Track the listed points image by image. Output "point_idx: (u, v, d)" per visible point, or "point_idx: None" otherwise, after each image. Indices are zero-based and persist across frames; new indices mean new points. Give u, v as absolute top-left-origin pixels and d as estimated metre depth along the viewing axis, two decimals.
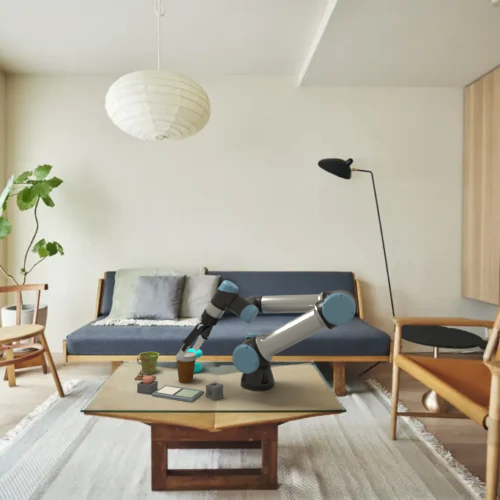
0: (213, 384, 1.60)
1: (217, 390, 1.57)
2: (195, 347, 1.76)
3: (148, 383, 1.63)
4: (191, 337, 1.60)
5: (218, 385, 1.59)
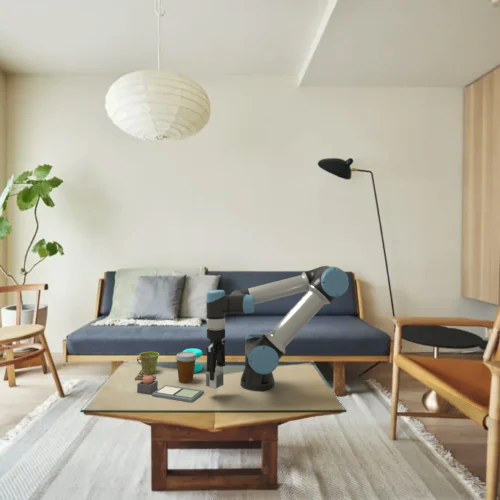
0: None
1: (217, 378, 1.58)
2: None
3: (148, 383, 1.63)
4: (210, 363, 1.53)
5: (218, 373, 1.59)
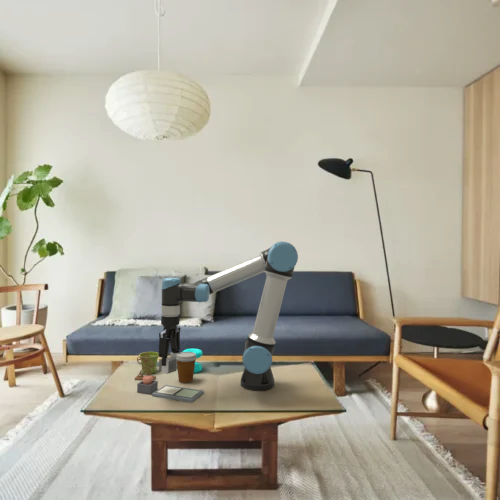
0: None
1: (170, 364, 1.61)
2: None
3: (148, 383, 1.63)
4: (162, 348, 1.56)
5: (171, 359, 1.63)
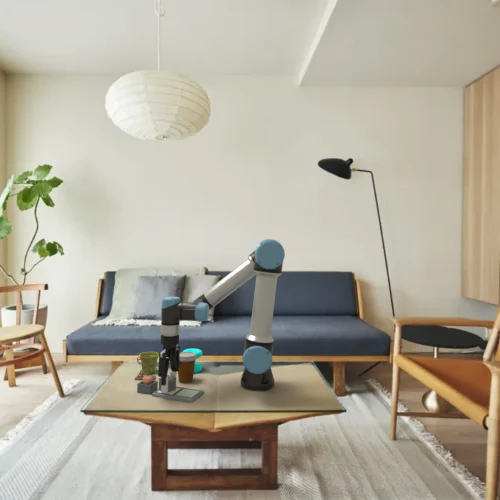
0: None
1: (170, 383, 1.61)
2: None
3: (148, 383, 1.63)
4: (161, 368, 1.56)
5: (171, 378, 1.63)
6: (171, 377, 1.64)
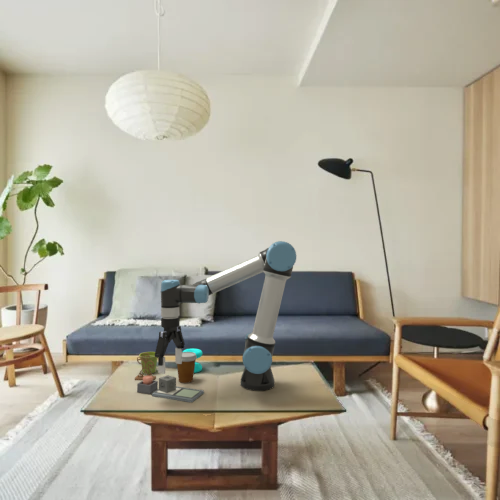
0: (166, 377, 1.64)
1: (170, 383, 1.61)
2: (177, 360, 1.69)
3: (148, 383, 1.63)
4: (160, 347, 1.54)
5: (171, 378, 1.63)
6: (171, 377, 1.64)
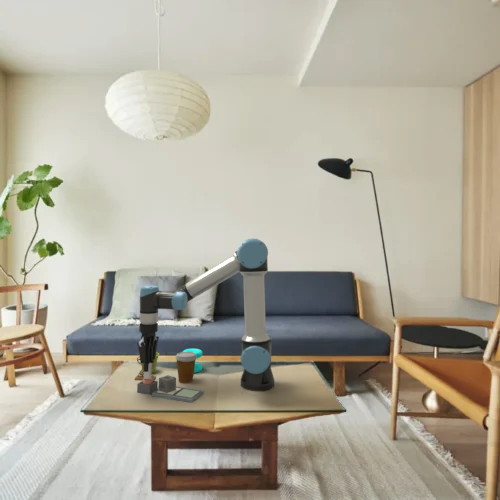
0: (166, 377, 1.64)
1: (170, 383, 1.61)
2: None
3: None
4: (142, 356, 1.61)
5: (171, 378, 1.63)
6: (171, 377, 1.64)
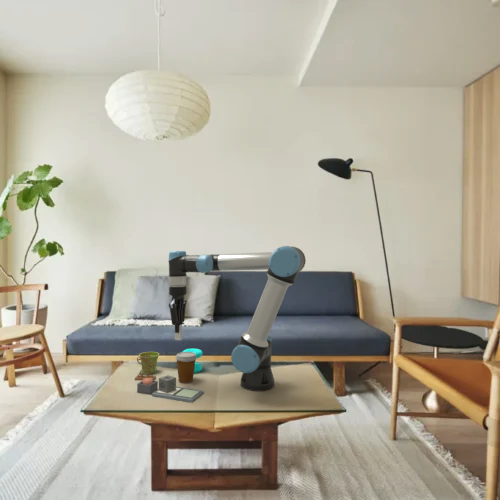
0: (166, 377, 1.64)
1: (170, 383, 1.61)
2: None
3: None
4: (174, 317, 1.68)
5: (171, 378, 1.63)
6: (171, 377, 1.64)
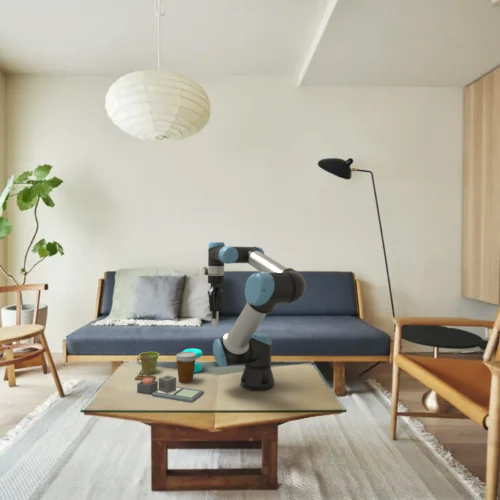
0: (166, 377, 1.64)
1: (170, 383, 1.61)
2: None
3: None
4: (212, 303, 1.79)
5: (171, 378, 1.63)
6: (171, 377, 1.64)
